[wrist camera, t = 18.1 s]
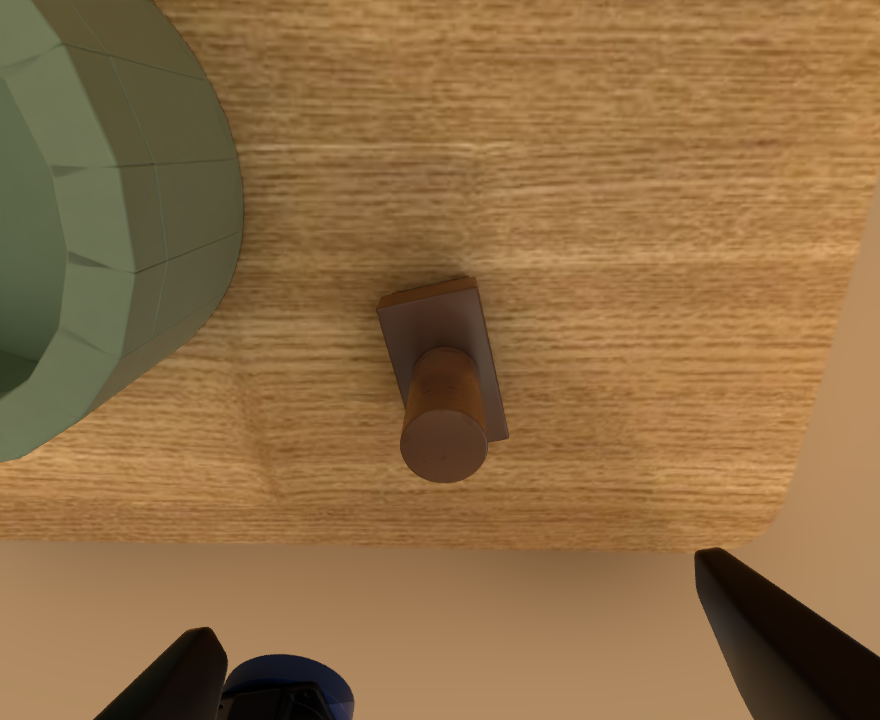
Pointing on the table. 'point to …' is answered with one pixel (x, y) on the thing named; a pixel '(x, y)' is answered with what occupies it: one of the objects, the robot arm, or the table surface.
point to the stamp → (443, 378)
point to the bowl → (103, 206)
